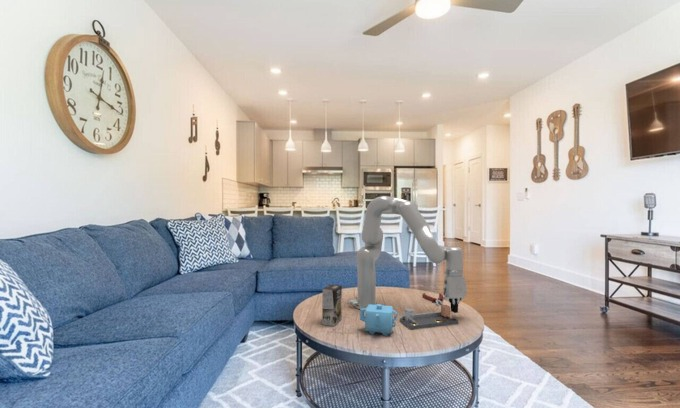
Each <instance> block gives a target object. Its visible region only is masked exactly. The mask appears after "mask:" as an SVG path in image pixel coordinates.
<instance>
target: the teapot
mask: <svg viewBox="0 0 680 408" xmlns="http://www.w3.org/2000/svg"><path fill="white" fill-rule="evenodd" d="M394 314H395V316H394ZM359 316H360V317H359V319H360V321H362V322H364V324H365V332H369V334H370V335H375V334H376V333H382V336H385V337H387V336H389V334H392V333H393V328H395V327H397V324H396V322H395V321H396V320H397V318H398V312H397V311H396V310H395V309H394V307H393V305H383V304H381V303H378V304H377V305H370V304H368V307H367V308H361V309H359Z"/></svg>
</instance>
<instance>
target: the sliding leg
mask: <svg viewBox="0 0 680 408" xmlns="http://www.w3.org/2000/svg"><path fill="white" fill-rule="evenodd" d="M440 311H441V315H442V316H444V317H449V318H452V317H453V316H451V305H450V306H449V305H448V304H443V305H440Z"/></svg>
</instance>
